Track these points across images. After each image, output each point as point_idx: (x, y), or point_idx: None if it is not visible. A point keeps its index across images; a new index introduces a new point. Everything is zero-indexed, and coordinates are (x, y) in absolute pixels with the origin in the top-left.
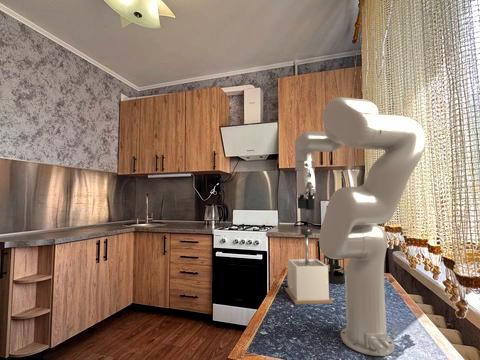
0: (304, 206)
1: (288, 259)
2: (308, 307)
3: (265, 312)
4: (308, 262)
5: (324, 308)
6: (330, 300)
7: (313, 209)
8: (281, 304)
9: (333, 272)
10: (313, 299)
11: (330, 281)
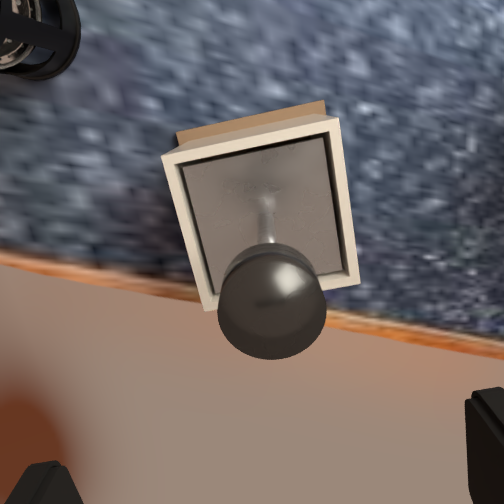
0: (52, 501)
1: (209, 310)
2: (363, 197)
3: (404, 327)
4: (268, 215)
5: (369, 142)
6: (323, 109)
7: (496, 388)
8: None
9: (52, 28)
10: None
11: (70, 53)
